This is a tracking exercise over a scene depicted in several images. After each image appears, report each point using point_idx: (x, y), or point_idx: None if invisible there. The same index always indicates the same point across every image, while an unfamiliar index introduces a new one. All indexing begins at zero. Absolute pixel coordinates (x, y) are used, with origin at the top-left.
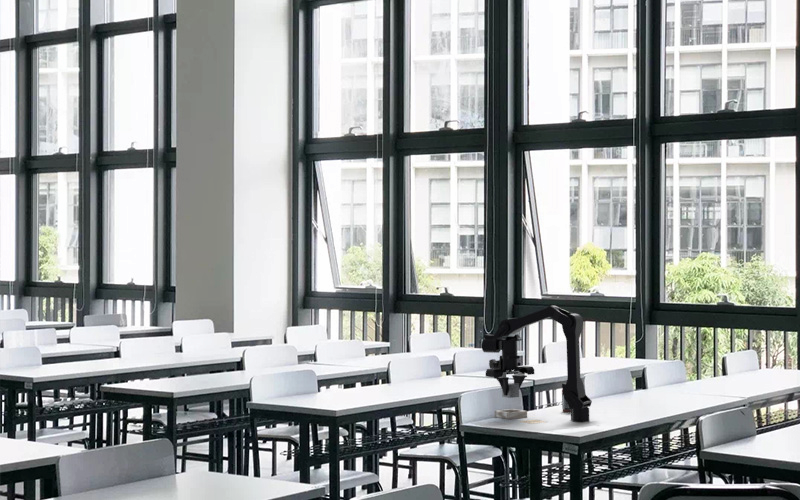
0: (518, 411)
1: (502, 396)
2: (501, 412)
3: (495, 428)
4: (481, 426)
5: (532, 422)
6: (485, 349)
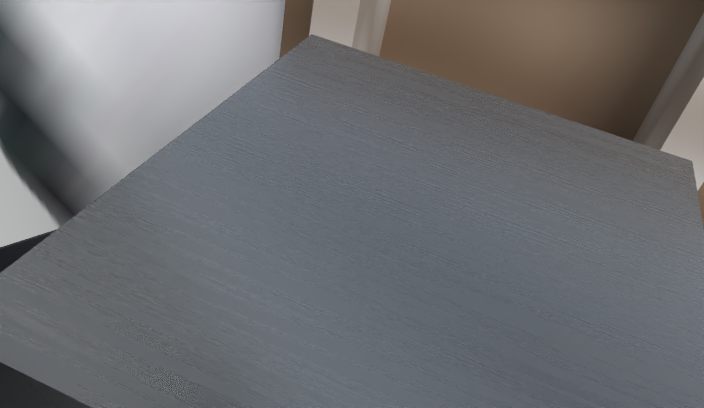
0: (660, 139)
1: (305, 39)
2: (315, 13)
3: (69, 180)
4: (18, 7)
5: None
6: None
